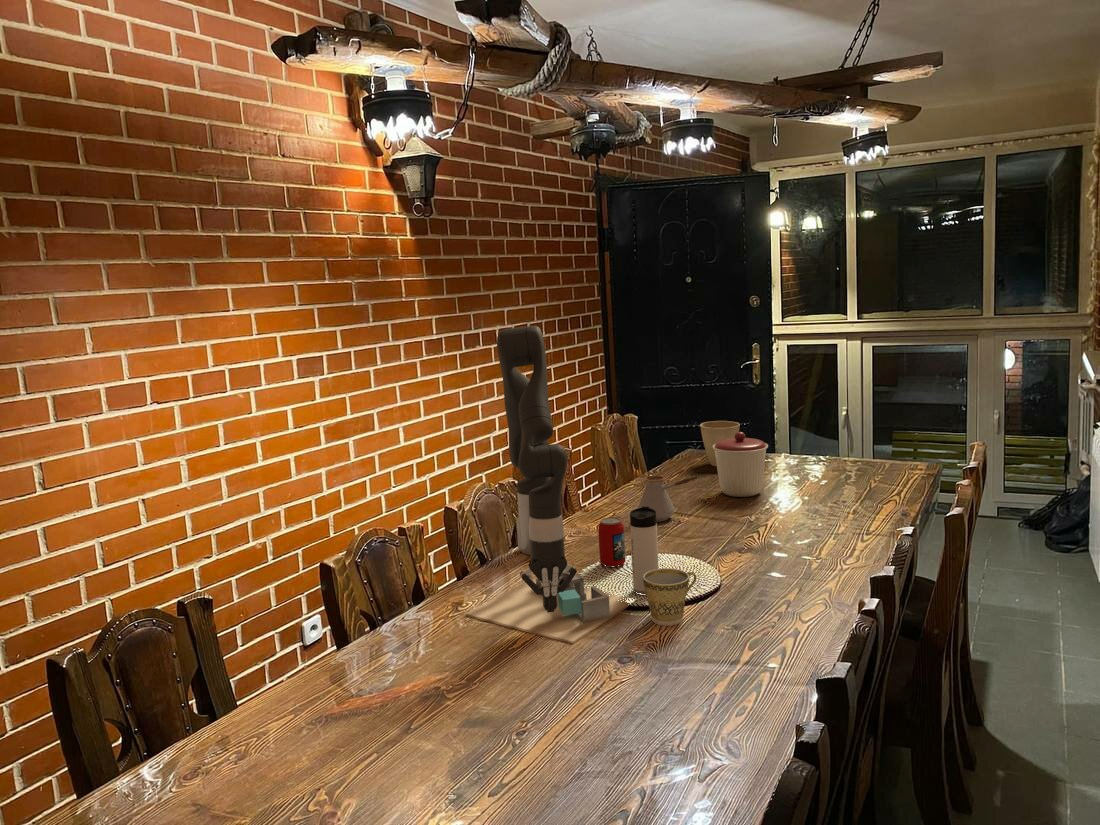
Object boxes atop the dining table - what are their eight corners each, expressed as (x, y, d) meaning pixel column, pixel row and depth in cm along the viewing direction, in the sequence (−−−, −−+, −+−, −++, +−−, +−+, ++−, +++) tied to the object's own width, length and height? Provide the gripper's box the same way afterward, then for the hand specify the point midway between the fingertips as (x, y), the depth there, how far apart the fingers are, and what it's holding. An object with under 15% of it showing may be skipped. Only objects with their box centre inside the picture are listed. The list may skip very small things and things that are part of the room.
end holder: (569, 612, 185) (568, 591, 184) (595, 605, 187) (594, 585, 187) (584, 623, 178) (582, 602, 177) (610, 617, 181) (609, 596, 180)
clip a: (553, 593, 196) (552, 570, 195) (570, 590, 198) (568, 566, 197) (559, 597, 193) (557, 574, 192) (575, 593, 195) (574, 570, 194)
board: (465, 615, 188) (464, 605, 187) (534, 579, 208) (534, 569, 208) (572, 643, 170) (572, 632, 169) (636, 600, 190) (636, 590, 190)
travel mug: (662, 586, 198) (658, 506, 195) (656, 596, 192) (653, 514, 189) (636, 584, 200) (633, 505, 197) (630, 595, 194) (626, 513, 191)
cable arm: (539, 577, 203) (538, 563, 203) (556, 574, 204) (555, 560, 203) (562, 615, 179) (561, 600, 178) (582, 612, 180) (581, 597, 179)
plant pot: (701, 469, 312) (700, 428, 310) (701, 460, 327) (699, 421, 324) (741, 468, 310) (740, 427, 307) (739, 459, 324) (738, 420, 322)
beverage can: (624, 568, 211) (622, 524, 210) (598, 568, 213) (596, 524, 211) (627, 559, 218) (625, 516, 216) (602, 559, 219) (599, 516, 217)
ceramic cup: (662, 633, 172) (660, 588, 171) (635, 617, 181) (633, 574, 179) (711, 618, 178) (709, 574, 176) (683, 604, 187) (681, 562, 185)
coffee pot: (630, 520, 253) (628, 473, 250) (649, 511, 262) (647, 465, 259) (693, 530, 240) (691, 480, 237) (710, 519, 249) (709, 471, 246)
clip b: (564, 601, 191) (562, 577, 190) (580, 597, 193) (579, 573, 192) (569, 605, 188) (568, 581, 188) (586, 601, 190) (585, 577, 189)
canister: (776, 489, 278) (774, 428, 275) (758, 502, 263) (757, 438, 260) (725, 484, 288) (723, 426, 285) (705, 497, 273) (703, 435, 270)
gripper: (519, 543, 173) (524, 621, 176) (580, 536, 176) (583, 613, 178) (513, 533, 180) (517, 608, 183) (571, 527, 183) (575, 601, 186)
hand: (550, 610), depth 181 cm, fingers closed
